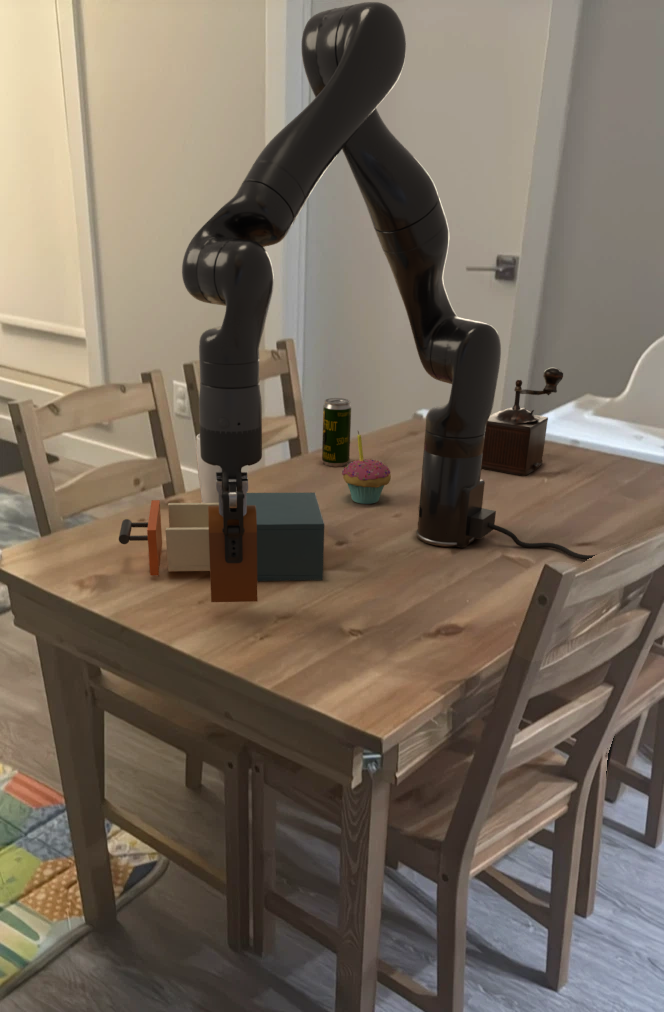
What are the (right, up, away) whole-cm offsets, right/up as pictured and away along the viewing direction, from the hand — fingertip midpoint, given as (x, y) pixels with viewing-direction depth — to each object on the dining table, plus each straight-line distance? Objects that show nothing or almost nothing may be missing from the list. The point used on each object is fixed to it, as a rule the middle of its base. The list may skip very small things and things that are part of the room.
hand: (233, 553), depth 128 cm
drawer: (-9, +3, +19) cm, 22 cm away
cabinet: (+3, +2, +21) cm, 22 cm away
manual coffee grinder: (+50, +30, +71) cm, 92 cm away
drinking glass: (-6, +10, +33) cm, 35 cm away
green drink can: (+13, +29, +67) cm, 74 cm away
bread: (0, -5, +3) cm, 6 cm away
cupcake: (+19, +18, +48) cm, 55 cm away
